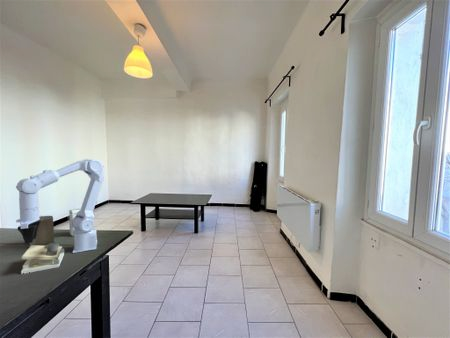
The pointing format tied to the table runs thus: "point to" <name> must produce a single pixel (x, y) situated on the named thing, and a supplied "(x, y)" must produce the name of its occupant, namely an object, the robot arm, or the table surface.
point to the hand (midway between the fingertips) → (30, 240)
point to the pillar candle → (44, 232)
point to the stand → (41, 264)
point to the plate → (43, 252)
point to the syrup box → (71, 216)
